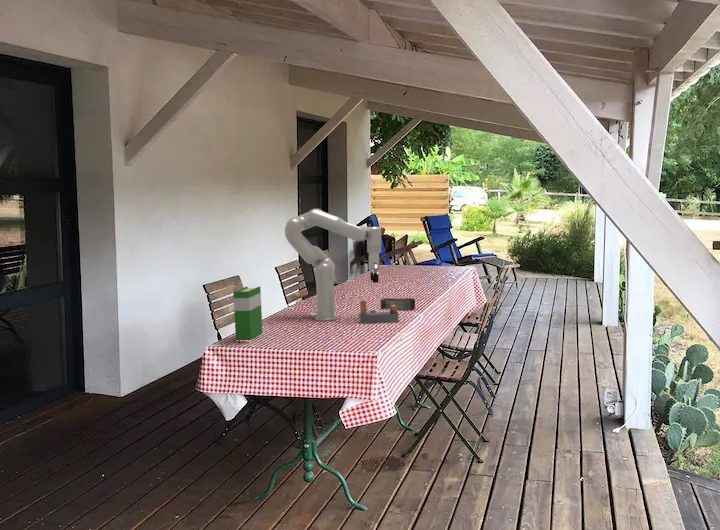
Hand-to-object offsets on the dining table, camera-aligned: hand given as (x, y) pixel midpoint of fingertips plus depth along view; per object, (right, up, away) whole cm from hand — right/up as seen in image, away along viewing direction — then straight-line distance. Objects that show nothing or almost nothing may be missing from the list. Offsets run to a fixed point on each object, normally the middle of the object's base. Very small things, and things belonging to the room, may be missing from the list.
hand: (374, 281), depth 386 cm
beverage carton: (+14, -17, +30) cm, 37 cm away
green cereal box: (-61, -27, -41) cm, 78 cm away
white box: (+1, -20, +3) cm, 21 cm away
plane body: (+2, -21, -9) cm, 23 cm away
